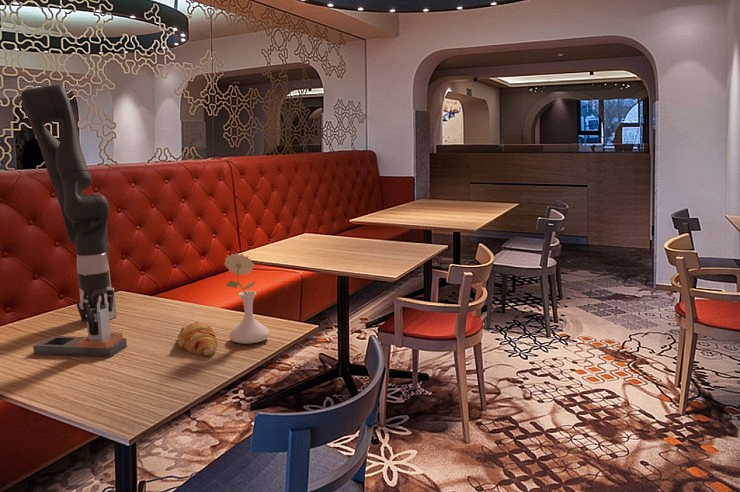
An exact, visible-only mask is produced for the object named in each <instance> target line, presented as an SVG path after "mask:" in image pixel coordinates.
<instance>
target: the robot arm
mask: <svg viewBox="0 0 740 492" xmlns="http://www.w3.org/2000/svg"><path fill="white" fill-rule="evenodd" d="M20 98H21V99H20V100H21V103H22V106H23V110H24V112H25V114H26V117H27V120H28V122H29V123H30V126H31V130H32V132H33V134H34V135H35V138H36V140H37V144H38V146H39V148H40V152H41V154H42V158H43V160H44V165H45V169H46V171H47V173H48V177H49V180H50V182H51V185H52V187H53V190H54V193H55V196H56V198H57V201H58V204H59V208H60V211H61V214H62V215H61V216H62V219H63V223H64V228H65V231H66V235H67V238H68V240H69V242H70V243H71V244H72V245H73V246H75V249H76V251H75V252H76V264H75V265H76V270H77V271H76V272H77V279H78V281H77V282H78V290H79V299H80V301H77V302H76V308H77V311H78V313H79V316H80V319H81V321H82V322H84V323H86V324H87V322H88V323H89V332H90V335H98V334H99V330H98V321H97V319H98V316H97V313H98V312H100V308H108V310H109V321H110V320H112V319H114V318H117V317H118V315H117V305H116V304H117V303H116V296H115V295H116V294H115V289H114V287H112V283H111V272H110V262H109V260H110V258H109V255H110V251H109V236H108V235H109V233H108V219H109V215H110V205H109V204H110V203H109V201H108V200H107V197H105V196H104V195H103V194H101V193H90V194H83V192H84V190H87V189H88V188H89V187H91V186H92V184H93V180H92V176H91V173H90V171H89V168H88V165H87V163H86V160H85V157H84V154H83V151H82V146H81V142H80V137H79V131H78V126H77V123H76V119H75V117H74V116H75V115H74V112H73V107H72V104H71V101H70V99H69V96H68V94H67V91H66V90H65V89H64V87H63V86H62V85H60V84H52V85H51V84H50V85H47V86H41V87H33V88H28V89H25V90H23V91H22V92H21V94H20ZM59 121H62V124H63V125H62V134H61V138H60V141H59V140H58V139H57V138H56V137H55V136H54V135H53V134H52V133H51V132H50V131H49V129H48V128H47V127H46V125H45V124H48V123H52V122H53V123H54V122H59ZM90 309H95V310H90ZM92 313H93V316H92Z"/></svg>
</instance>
